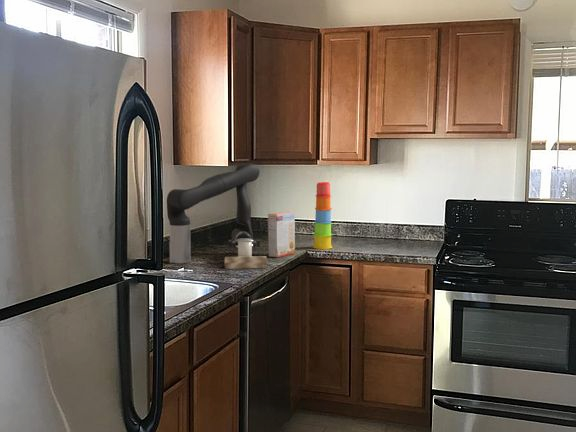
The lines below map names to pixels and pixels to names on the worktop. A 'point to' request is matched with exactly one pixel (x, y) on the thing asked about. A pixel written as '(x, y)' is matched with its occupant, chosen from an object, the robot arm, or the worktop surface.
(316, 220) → the stacking cups
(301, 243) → the worktop surface
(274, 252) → the cracker box
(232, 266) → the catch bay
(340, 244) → the worktop surface
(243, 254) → the cylinder
